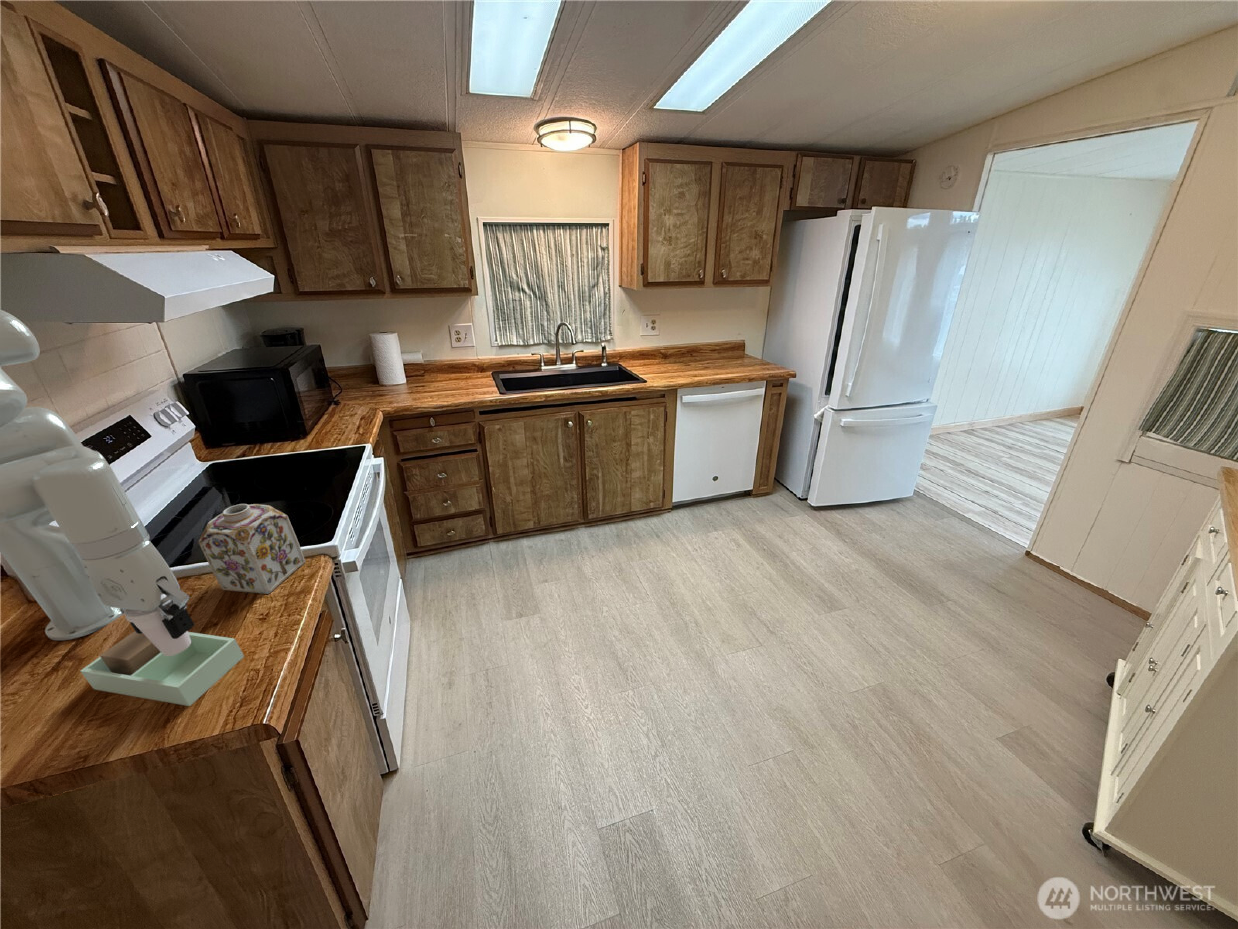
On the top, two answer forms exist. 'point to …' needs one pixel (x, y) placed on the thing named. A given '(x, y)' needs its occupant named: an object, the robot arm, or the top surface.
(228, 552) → the decorative jar
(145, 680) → the tote
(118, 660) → the walnut block
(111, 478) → the robot arm
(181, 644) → the white cup
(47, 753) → the top surface
